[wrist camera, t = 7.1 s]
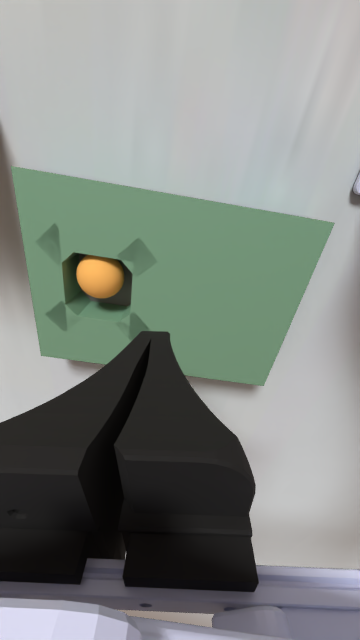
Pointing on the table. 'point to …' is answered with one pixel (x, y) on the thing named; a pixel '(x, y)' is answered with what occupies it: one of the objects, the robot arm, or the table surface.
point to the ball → (100, 276)
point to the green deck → (164, 273)
